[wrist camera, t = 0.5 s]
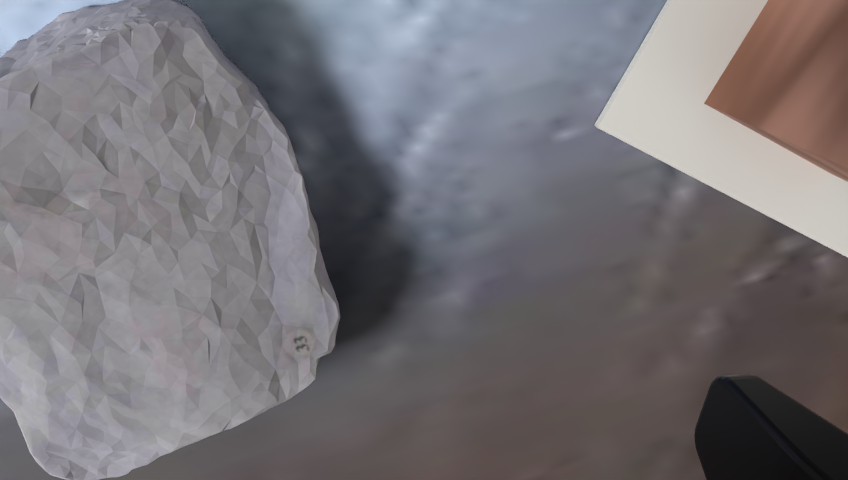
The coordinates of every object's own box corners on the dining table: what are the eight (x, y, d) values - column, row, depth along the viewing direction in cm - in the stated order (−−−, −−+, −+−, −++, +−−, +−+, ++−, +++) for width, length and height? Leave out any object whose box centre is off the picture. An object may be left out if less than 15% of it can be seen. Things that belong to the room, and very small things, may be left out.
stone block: (187, -46, 21) (-168, 116, 20) (197, -50, 17) (-255, 157, 16) (363, 295, 26) (89, 445, 25) (405, 359, 22) (78, 544, 21)
